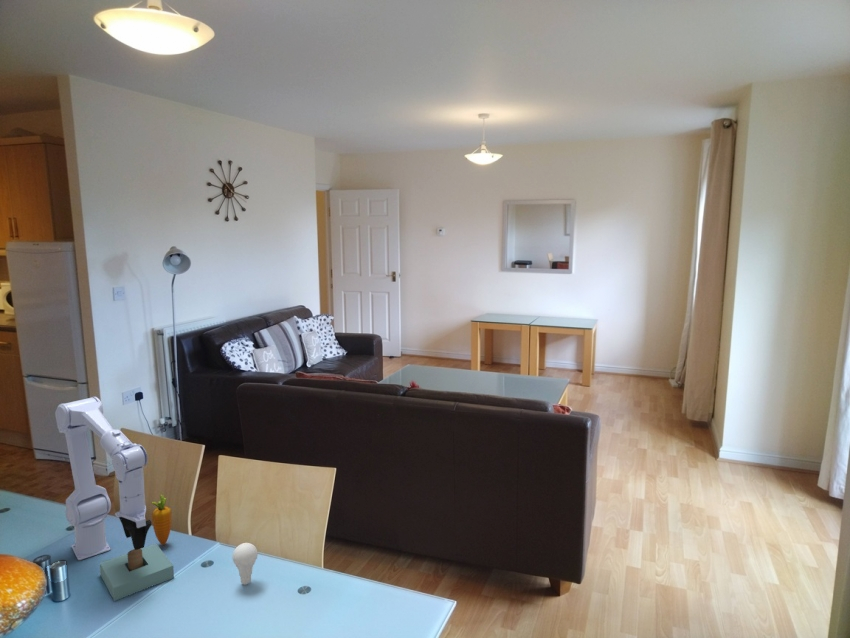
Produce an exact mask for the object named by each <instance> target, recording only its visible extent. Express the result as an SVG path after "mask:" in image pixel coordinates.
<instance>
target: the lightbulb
mask: <svg viewBox="0 0 850 638" xmlns="http://www.w3.org/2000/svg"><path fill="white" fill-rule="evenodd" d="M257 559H258V550H257V547H256V546H255V545H254V544H252V543H251V542H250V543H249V542H244V543H243V542H242V543H241V544H239V545H237V546H236V548H235V549H234V550H233V552H232V562H233V564H234V565H235V567H236V568H237V570H238V574H239V575H238V576H239V578H240V583H241V584H242V585H248V584H250V583H251V582H252V575H253V567H254V565H255V563H256V561H257Z"/></svg>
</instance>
